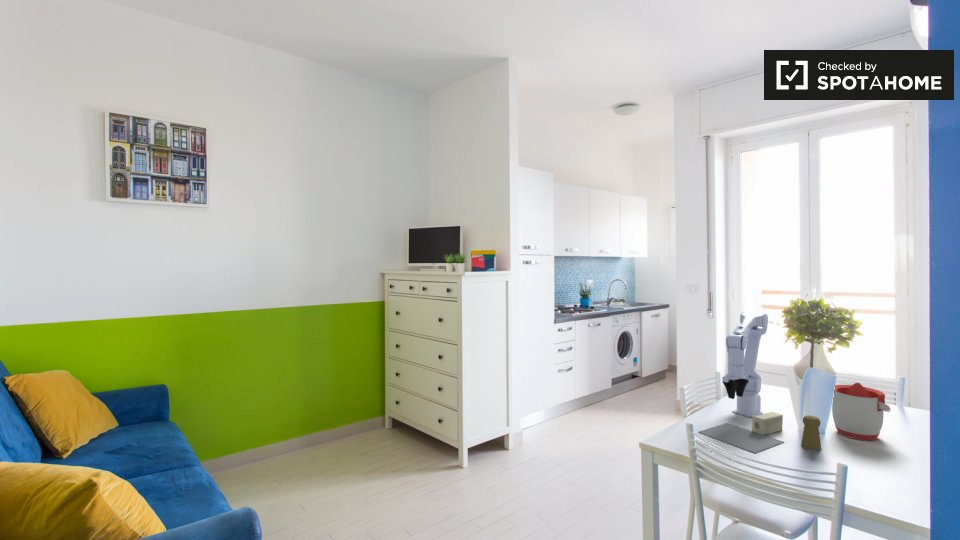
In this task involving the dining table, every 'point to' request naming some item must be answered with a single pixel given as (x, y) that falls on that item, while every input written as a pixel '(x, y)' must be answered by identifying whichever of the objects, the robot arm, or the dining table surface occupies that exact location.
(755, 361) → the robot arm
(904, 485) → the dining table surface
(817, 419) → the cork
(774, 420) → the skincare box
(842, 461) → the dining table surface
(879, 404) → the citrus juicer
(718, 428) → the mat
